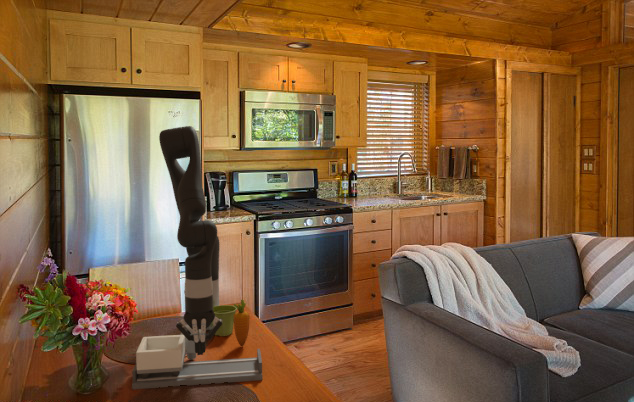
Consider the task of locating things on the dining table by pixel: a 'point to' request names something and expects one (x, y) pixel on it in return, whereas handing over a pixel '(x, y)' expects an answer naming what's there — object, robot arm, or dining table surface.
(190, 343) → the lightbulb
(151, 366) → the cream open box
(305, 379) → the dining table surface
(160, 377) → the rail board
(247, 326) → the carrot
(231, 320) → the plant pot
